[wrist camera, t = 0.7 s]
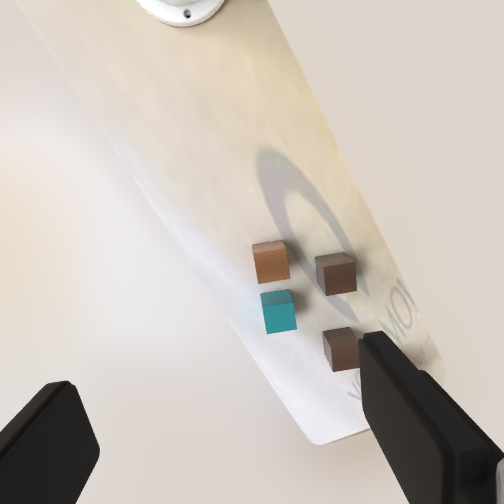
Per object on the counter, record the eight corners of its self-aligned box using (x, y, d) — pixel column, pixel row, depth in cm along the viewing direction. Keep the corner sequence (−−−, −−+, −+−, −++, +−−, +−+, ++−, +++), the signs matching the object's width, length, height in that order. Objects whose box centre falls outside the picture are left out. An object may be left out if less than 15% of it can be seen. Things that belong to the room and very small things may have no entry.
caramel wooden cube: (252, 244, 41) (253, 253, 36) (281, 239, 41) (286, 248, 36) (256, 272, 42) (258, 284, 38) (285, 267, 42) (290, 278, 38)
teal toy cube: (260, 293, 43) (262, 307, 39) (288, 289, 43) (293, 302, 39) (264, 318, 44) (266, 334, 40) (291, 314, 44) (297, 329, 40)
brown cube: (322, 331, 45) (330, 348, 41) (348, 327, 45) (360, 343, 41) (324, 353, 47) (332, 372, 42) (350, 349, 47) (361, 367, 42)
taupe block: (314, 257, 42) (323, 267, 37) (343, 252, 42) (355, 261, 37) (317, 283, 43) (325, 296, 39) (345, 279, 43) (357, 291, 39)
